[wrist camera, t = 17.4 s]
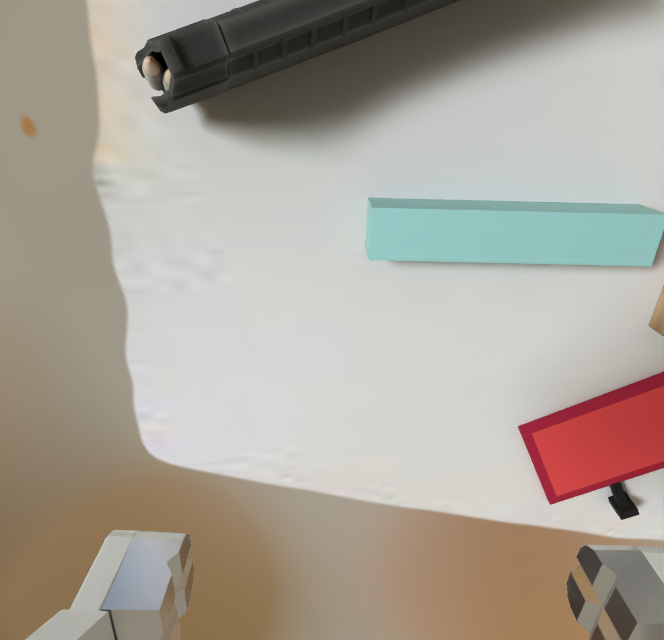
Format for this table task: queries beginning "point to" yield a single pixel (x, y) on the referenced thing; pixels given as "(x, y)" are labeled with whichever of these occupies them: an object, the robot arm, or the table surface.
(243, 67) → the magazine
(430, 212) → the rod
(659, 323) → the pedestal
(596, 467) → the red board with handle
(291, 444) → the table surface
